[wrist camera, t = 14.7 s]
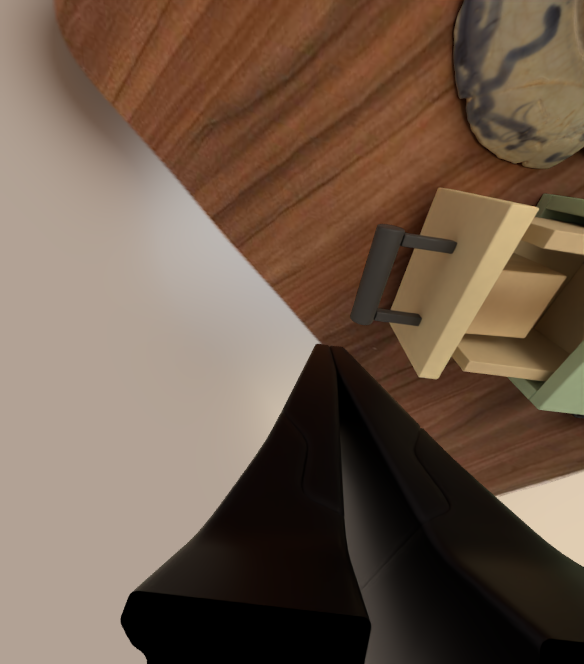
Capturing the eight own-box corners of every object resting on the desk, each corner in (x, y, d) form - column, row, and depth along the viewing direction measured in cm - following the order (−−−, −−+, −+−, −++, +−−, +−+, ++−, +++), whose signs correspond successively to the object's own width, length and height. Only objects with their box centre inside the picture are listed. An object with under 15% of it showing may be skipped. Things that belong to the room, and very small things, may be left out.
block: (486, 307, 19) (525, 338, 16) (432, 303, 19) (460, 333, 16) (516, 252, 17) (568, 276, 14) (455, 247, 17) (493, 269, 14)
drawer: (335, 312, 21) (348, 369, 15) (370, 175, 16) (410, 186, 10) (521, 337, 22) (598, 399, 16) (611, 216, 17) (769, 245, 11)
